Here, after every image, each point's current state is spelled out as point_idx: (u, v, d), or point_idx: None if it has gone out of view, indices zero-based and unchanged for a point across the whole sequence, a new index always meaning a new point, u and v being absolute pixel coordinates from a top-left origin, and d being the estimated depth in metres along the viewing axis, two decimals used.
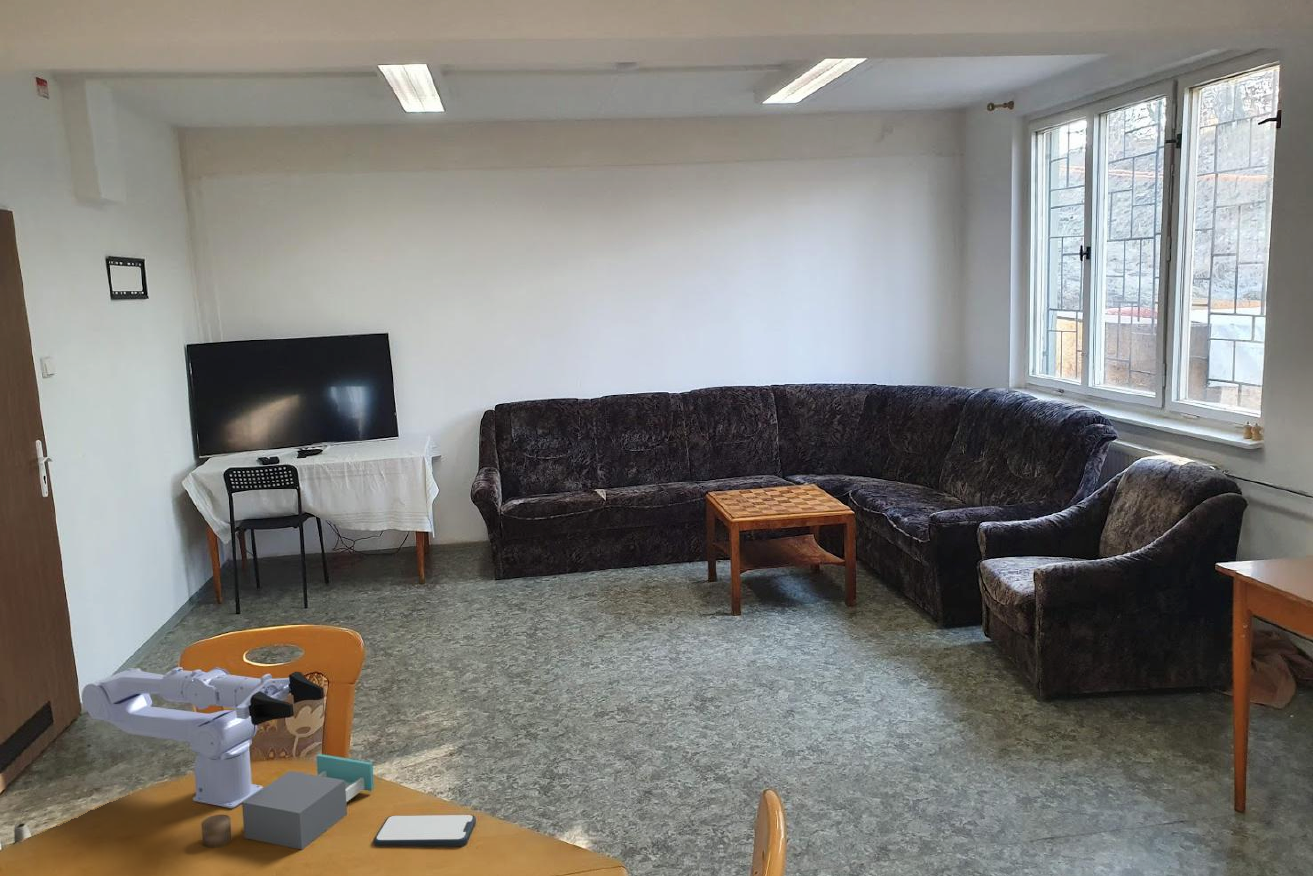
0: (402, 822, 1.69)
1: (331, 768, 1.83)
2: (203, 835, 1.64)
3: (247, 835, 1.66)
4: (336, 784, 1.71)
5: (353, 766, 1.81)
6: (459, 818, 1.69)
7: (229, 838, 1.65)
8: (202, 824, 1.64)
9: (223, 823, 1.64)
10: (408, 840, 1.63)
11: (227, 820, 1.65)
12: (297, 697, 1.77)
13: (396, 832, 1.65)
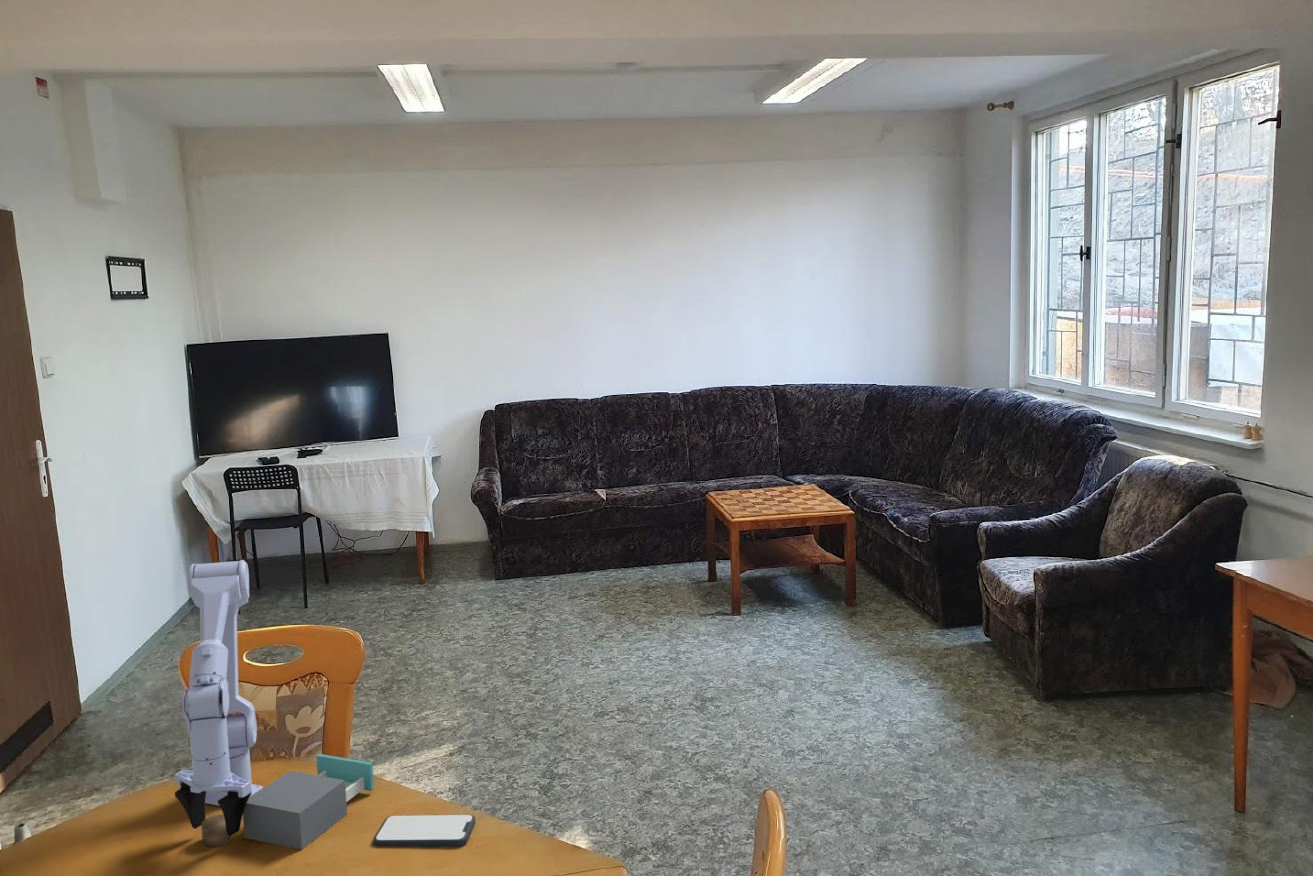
0: (402, 822, 1.69)
1: (331, 768, 1.83)
2: (203, 835, 1.64)
3: (247, 835, 1.66)
4: (336, 784, 1.71)
5: (353, 766, 1.81)
6: (459, 818, 1.69)
7: (229, 838, 1.65)
8: (202, 824, 1.64)
9: (223, 823, 1.64)
10: (407, 840, 1.63)
11: None
12: None
13: (396, 832, 1.65)
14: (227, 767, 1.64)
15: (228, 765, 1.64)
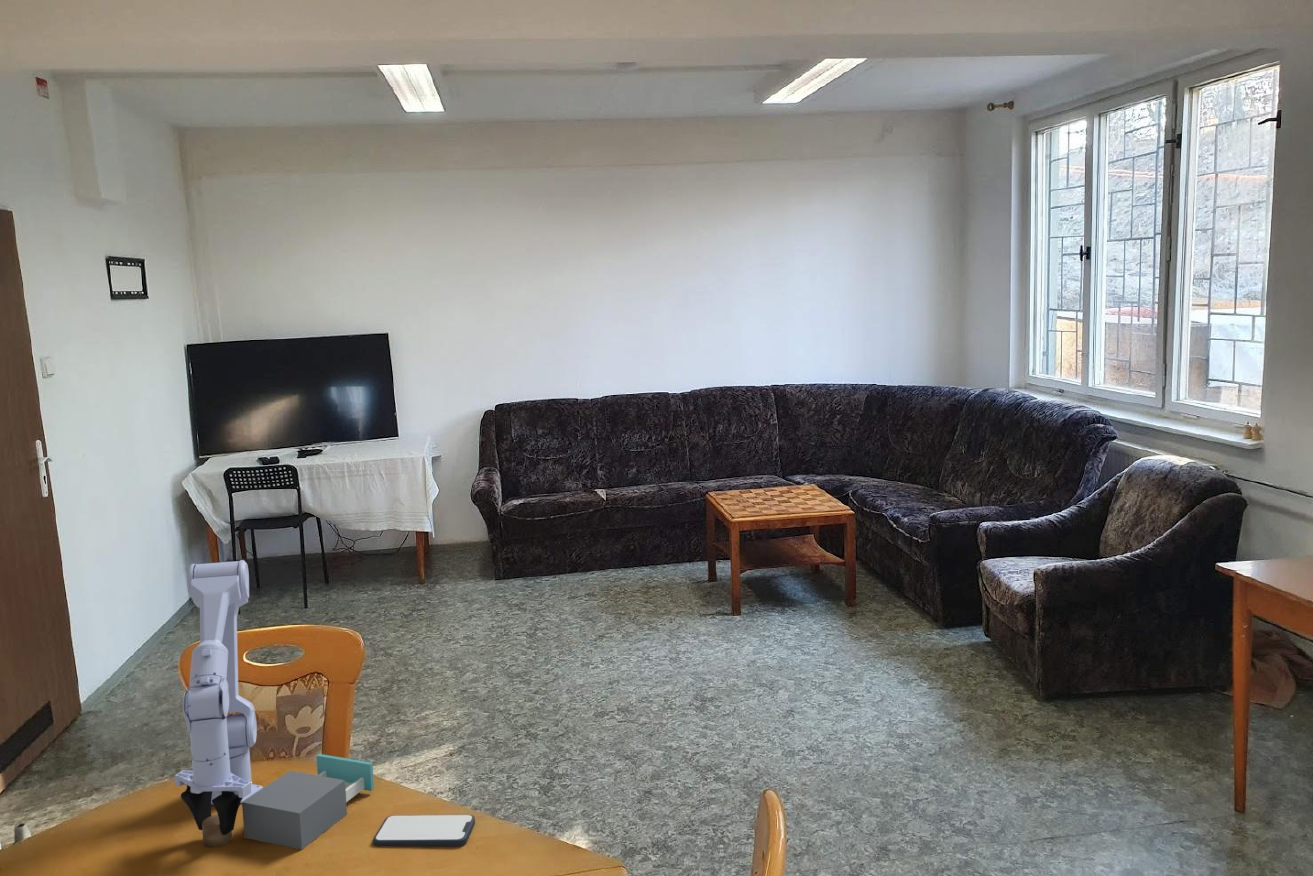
0: (402, 822, 1.69)
1: (331, 768, 1.83)
2: (203, 834, 1.64)
3: (247, 835, 1.66)
4: (336, 784, 1.71)
5: (353, 766, 1.81)
6: (458, 818, 1.69)
7: (229, 838, 1.65)
8: (203, 823, 1.64)
9: None
10: (407, 840, 1.63)
11: None
12: None
13: (396, 832, 1.65)
14: (227, 767, 1.64)
15: (228, 766, 1.64)
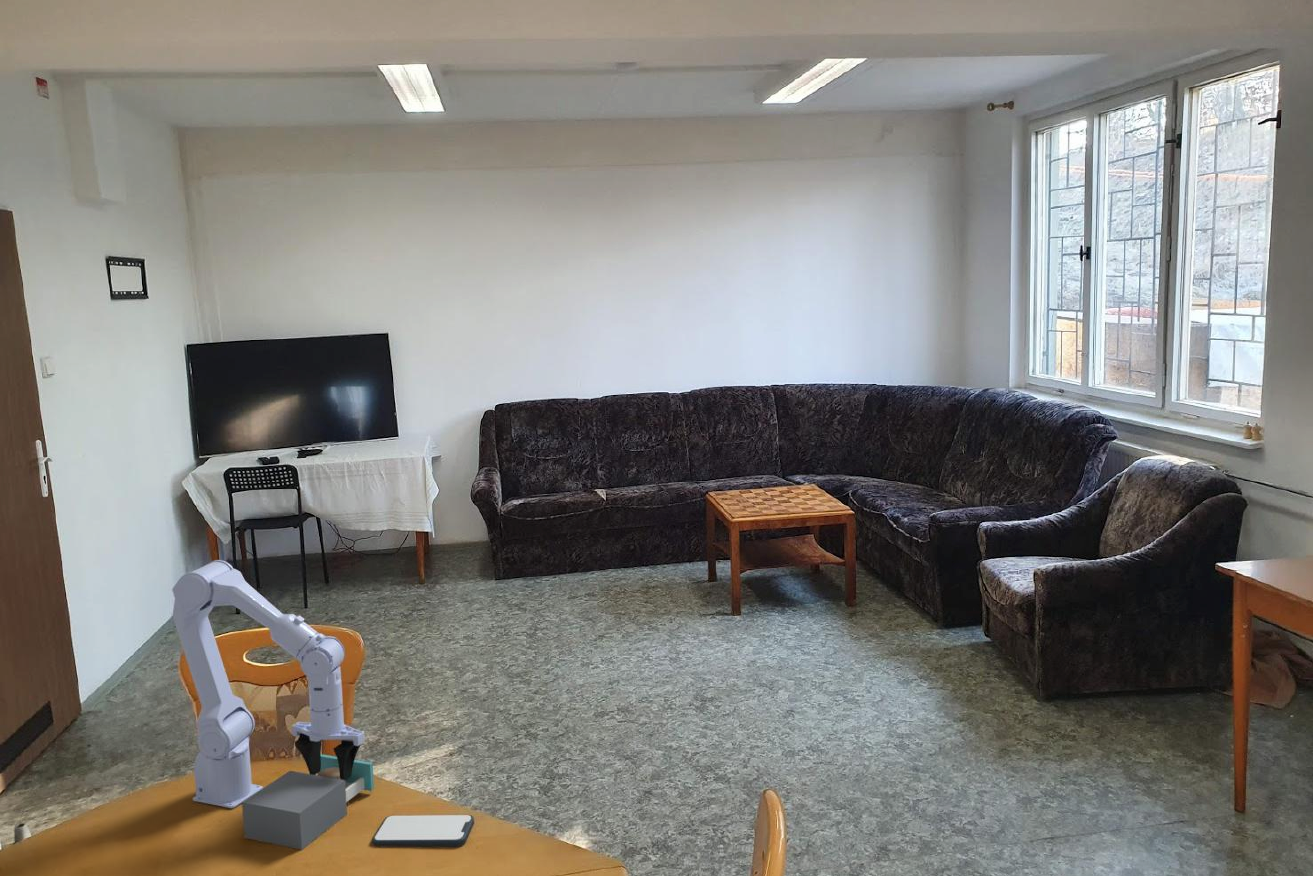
0: (401, 822, 1.69)
1: None
2: None
3: (247, 835, 1.66)
4: (336, 784, 1.71)
5: (353, 766, 1.81)
6: (457, 818, 1.69)
7: None
8: (319, 775, 1.77)
9: (338, 774, 1.77)
10: (406, 840, 1.63)
11: None
12: None
13: (394, 832, 1.65)
14: (342, 718, 1.76)
15: None
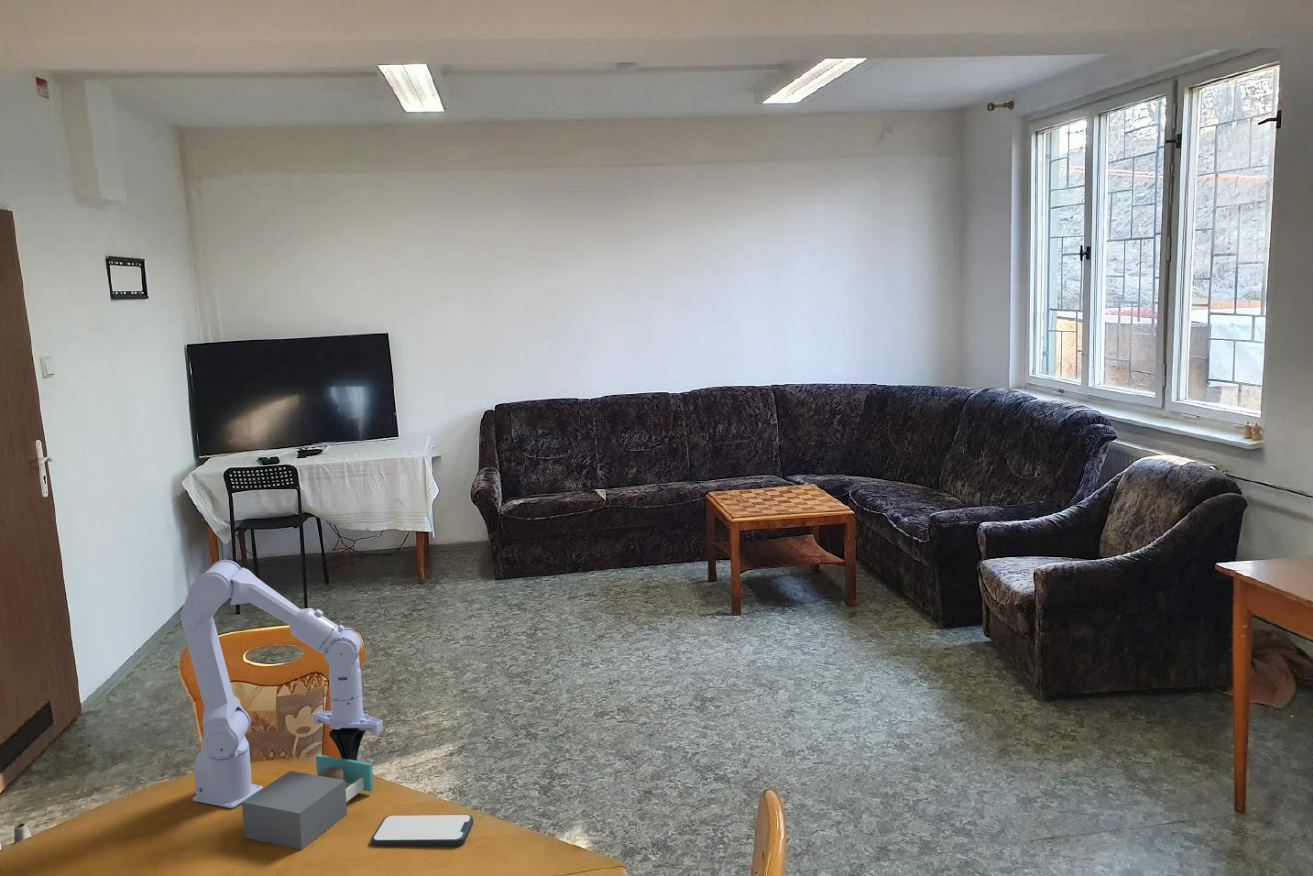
0: (400, 822, 1.69)
1: None
2: None
3: (247, 835, 1.66)
4: (336, 784, 1.71)
5: (352, 766, 1.81)
6: (456, 818, 1.69)
7: None
8: None
9: (337, 775, 1.77)
10: (405, 840, 1.63)
11: (340, 772, 1.78)
12: None
13: (394, 832, 1.65)
14: (361, 707, 1.82)
15: (362, 706, 1.82)
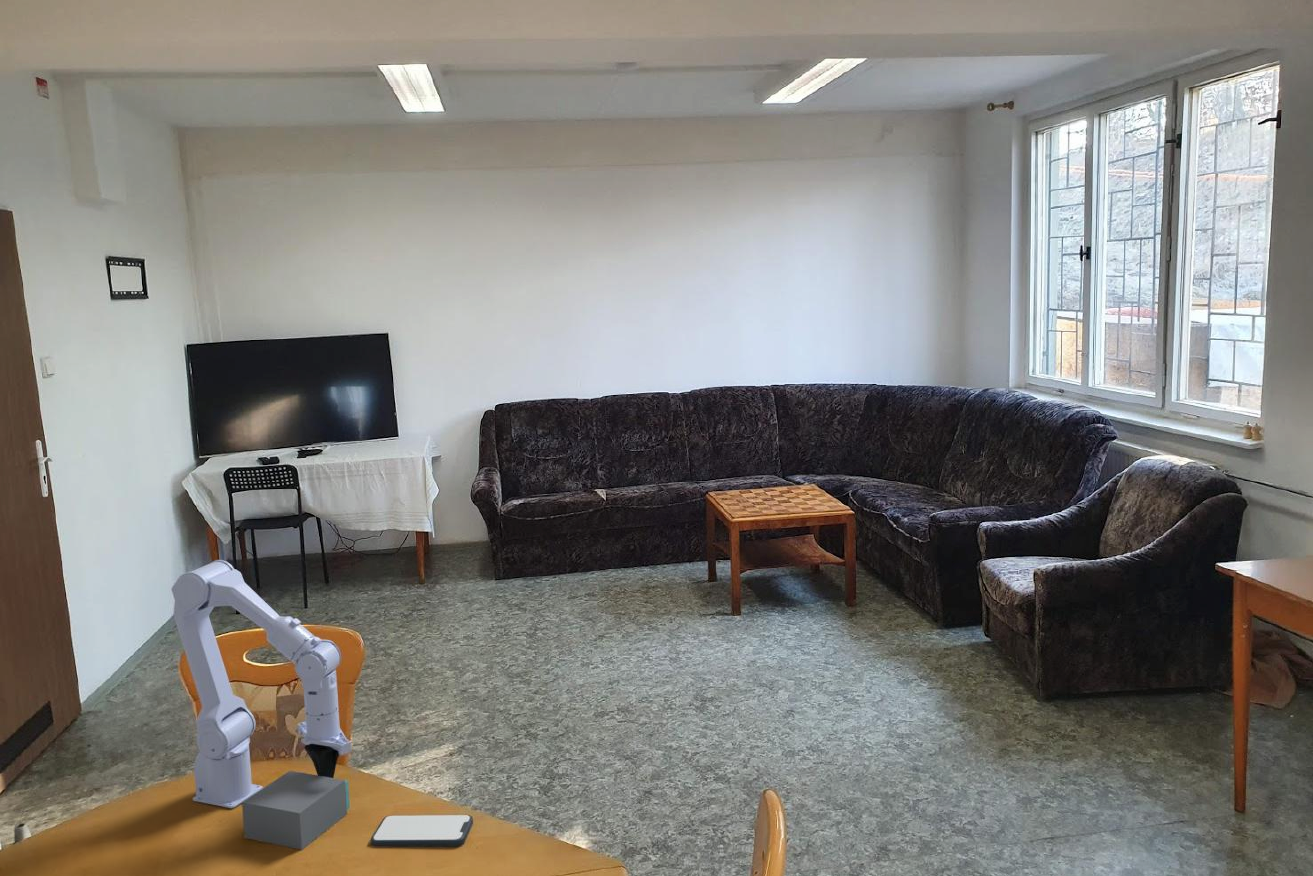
0: (399, 822, 1.69)
1: None
2: None
3: (247, 835, 1.66)
4: (336, 784, 1.71)
5: None
6: (456, 818, 1.69)
7: None
8: None
9: None
10: (405, 840, 1.63)
11: None
12: None
13: (393, 832, 1.65)
14: (334, 725, 1.74)
15: (336, 723, 1.75)
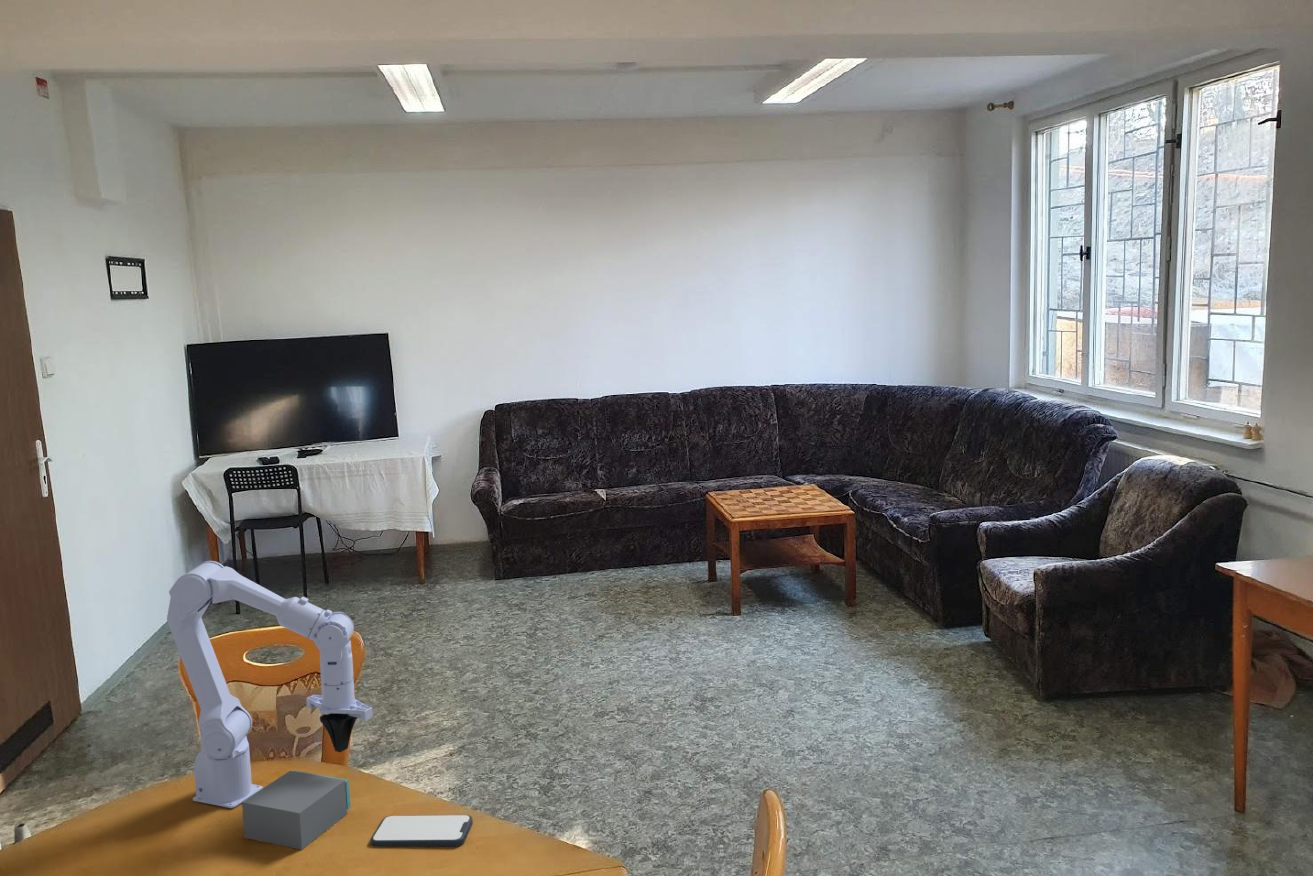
0: (399, 822, 1.69)
1: None
2: None
3: (247, 835, 1.66)
4: (336, 784, 1.71)
5: None
6: (456, 818, 1.69)
7: None
8: None
9: None
10: (405, 840, 1.63)
11: None
12: None
13: (393, 833, 1.65)
14: (352, 693, 1.79)
15: (353, 692, 1.79)
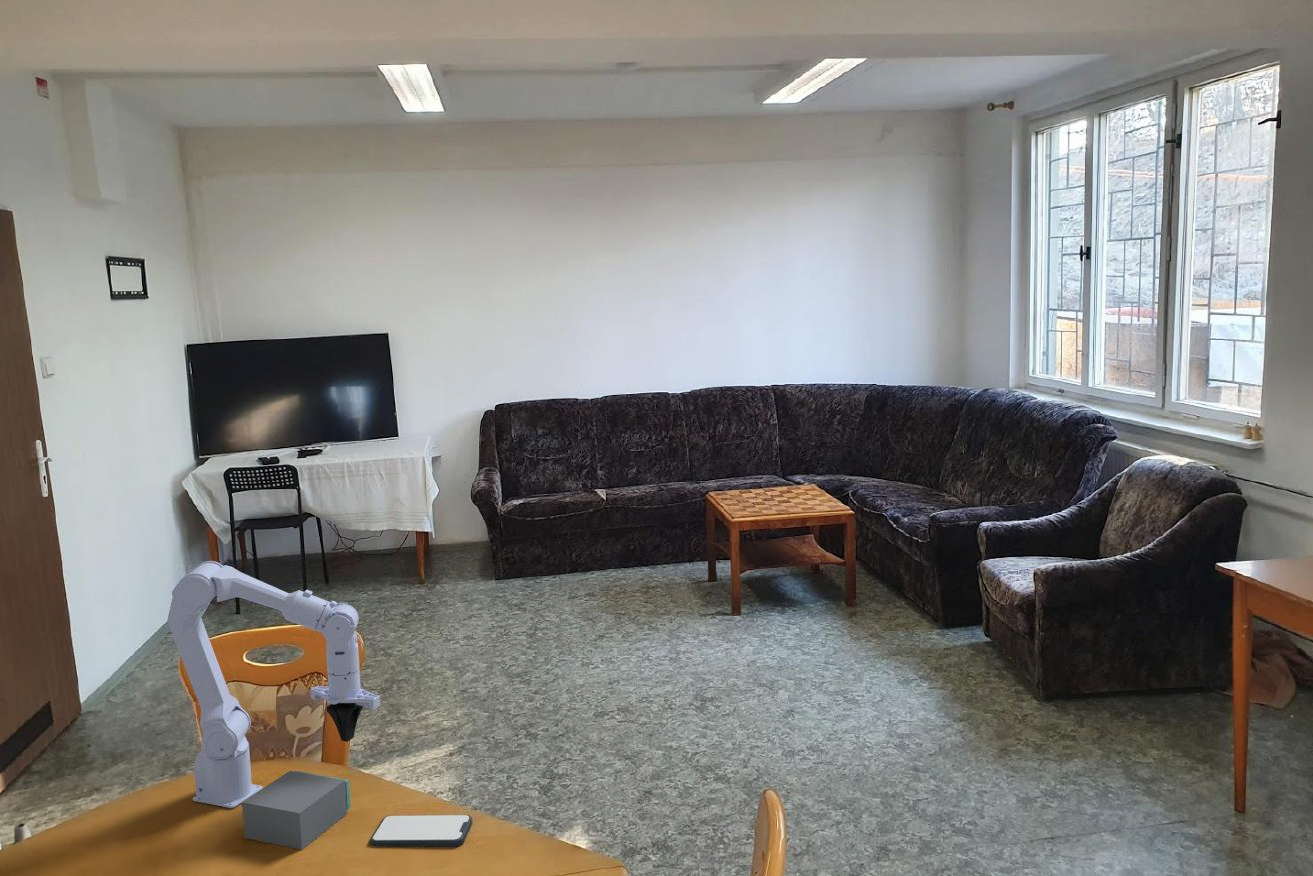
0: (399, 822, 1.69)
1: None
2: None
3: (247, 835, 1.66)
4: (336, 784, 1.71)
5: None
6: (456, 818, 1.69)
7: None
8: None
9: None
10: (404, 840, 1.63)
11: None
12: None
13: (393, 832, 1.65)
14: (358, 683, 1.81)
15: (359, 681, 1.81)
